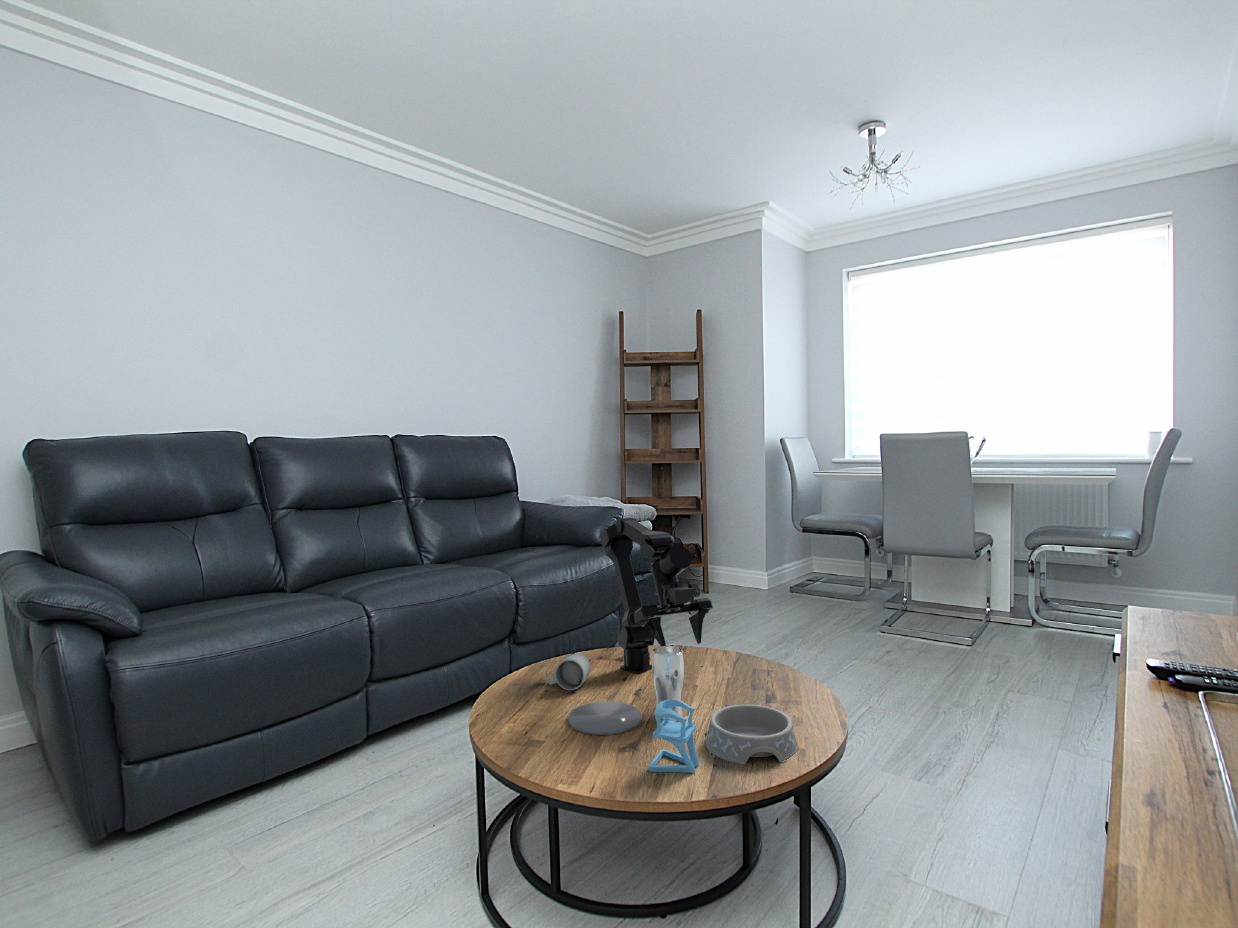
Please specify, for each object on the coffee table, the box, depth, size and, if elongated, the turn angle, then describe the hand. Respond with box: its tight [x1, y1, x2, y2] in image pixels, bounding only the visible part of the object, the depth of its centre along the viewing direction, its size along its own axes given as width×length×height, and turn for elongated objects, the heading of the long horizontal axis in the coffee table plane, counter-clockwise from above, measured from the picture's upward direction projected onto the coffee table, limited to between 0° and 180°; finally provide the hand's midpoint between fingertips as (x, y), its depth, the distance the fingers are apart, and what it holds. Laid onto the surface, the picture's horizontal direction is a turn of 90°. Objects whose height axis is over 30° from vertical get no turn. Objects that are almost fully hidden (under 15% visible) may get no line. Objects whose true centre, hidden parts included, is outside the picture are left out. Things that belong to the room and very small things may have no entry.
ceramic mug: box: [547, 653, 592, 691], centre depth 174 cm, size 11×8×8 cm
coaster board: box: [568, 700, 642, 736], centre depth 151 cm, size 16×16×1 cm
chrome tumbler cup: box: [651, 645, 685, 723], centre depth 152 cm, size 7×7×15 cm
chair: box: [647, 700, 700, 774], centre depth 129 cm, size 8×8×12 cm
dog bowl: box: [704, 703, 799, 765], centre depth 138 cm, size 17×18×5 cm
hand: (682, 646), depth 161 cm, fingers open, 9 cm apart
